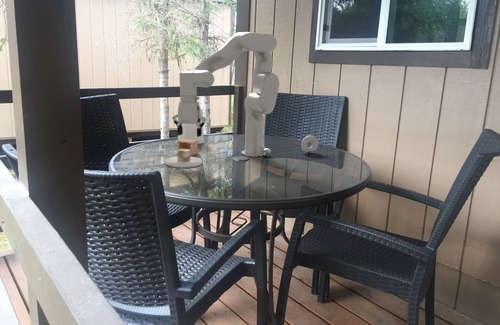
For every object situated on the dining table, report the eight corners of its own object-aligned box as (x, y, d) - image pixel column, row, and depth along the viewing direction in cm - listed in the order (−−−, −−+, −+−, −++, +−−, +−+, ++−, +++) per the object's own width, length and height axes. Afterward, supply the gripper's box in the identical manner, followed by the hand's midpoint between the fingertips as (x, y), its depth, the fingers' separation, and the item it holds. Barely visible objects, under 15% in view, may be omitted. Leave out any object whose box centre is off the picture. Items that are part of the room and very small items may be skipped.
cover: (197, 153, 215) (197, 140, 213) (191, 156, 208) (191, 142, 207) (184, 151, 217) (184, 138, 215) (178, 154, 210) (178, 141, 209)
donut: (315, 152, 229) (316, 134, 227) (318, 153, 226) (320, 135, 224) (299, 153, 226) (300, 134, 223) (302, 154, 222) (303, 136, 220)
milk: (177, 140, 246) (177, 95, 240) (196, 139, 251) (196, 95, 245) (184, 144, 236) (184, 98, 229) (203, 143, 241) (204, 97, 235)
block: (190, 160, 196) (190, 149, 194) (185, 162, 191) (185, 151, 190) (181, 159, 197) (181, 148, 196) (177, 161, 193) (177, 150, 192)
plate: (208, 161, 200) (208, 158, 199) (191, 169, 184) (191, 166, 184) (176, 157, 205) (176, 154, 205) (158, 164, 189) (158, 162, 189)
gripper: (209, 98, 192) (209, 135, 197) (175, 97, 197) (177, 132, 202) (202, 100, 185) (203, 138, 190) (167, 98, 191) (169, 135, 195)
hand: (189, 135), depth 196 cm, fingers open, 9 cm apart
